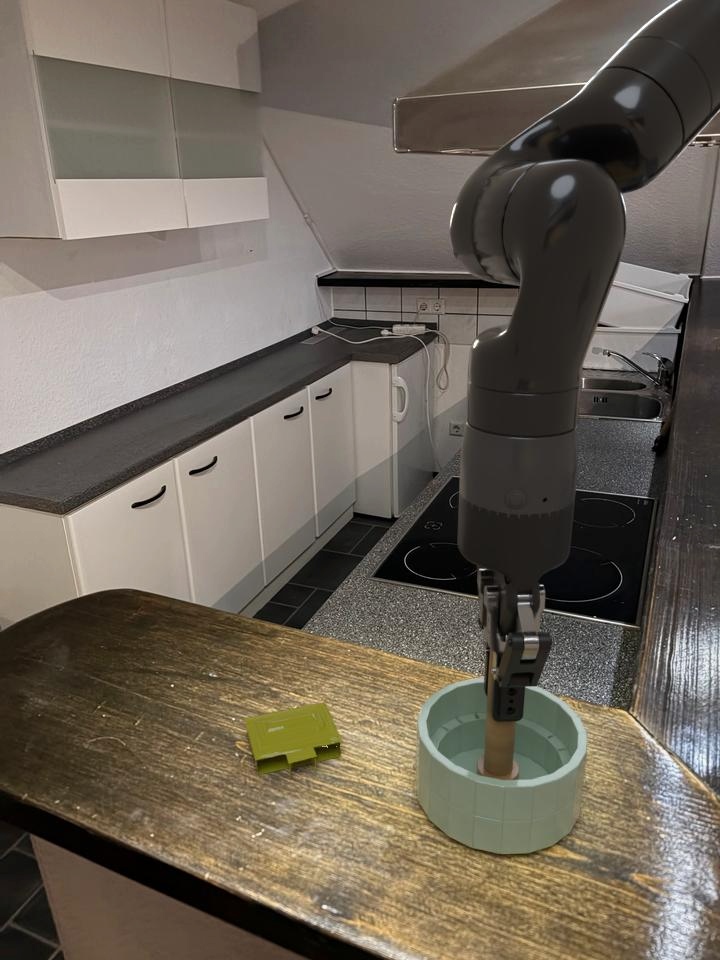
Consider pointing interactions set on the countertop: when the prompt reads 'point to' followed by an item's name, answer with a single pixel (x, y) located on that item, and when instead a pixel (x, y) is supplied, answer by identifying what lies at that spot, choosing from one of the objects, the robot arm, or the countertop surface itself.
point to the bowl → (494, 802)
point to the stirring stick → (498, 744)
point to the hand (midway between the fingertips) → (502, 705)
